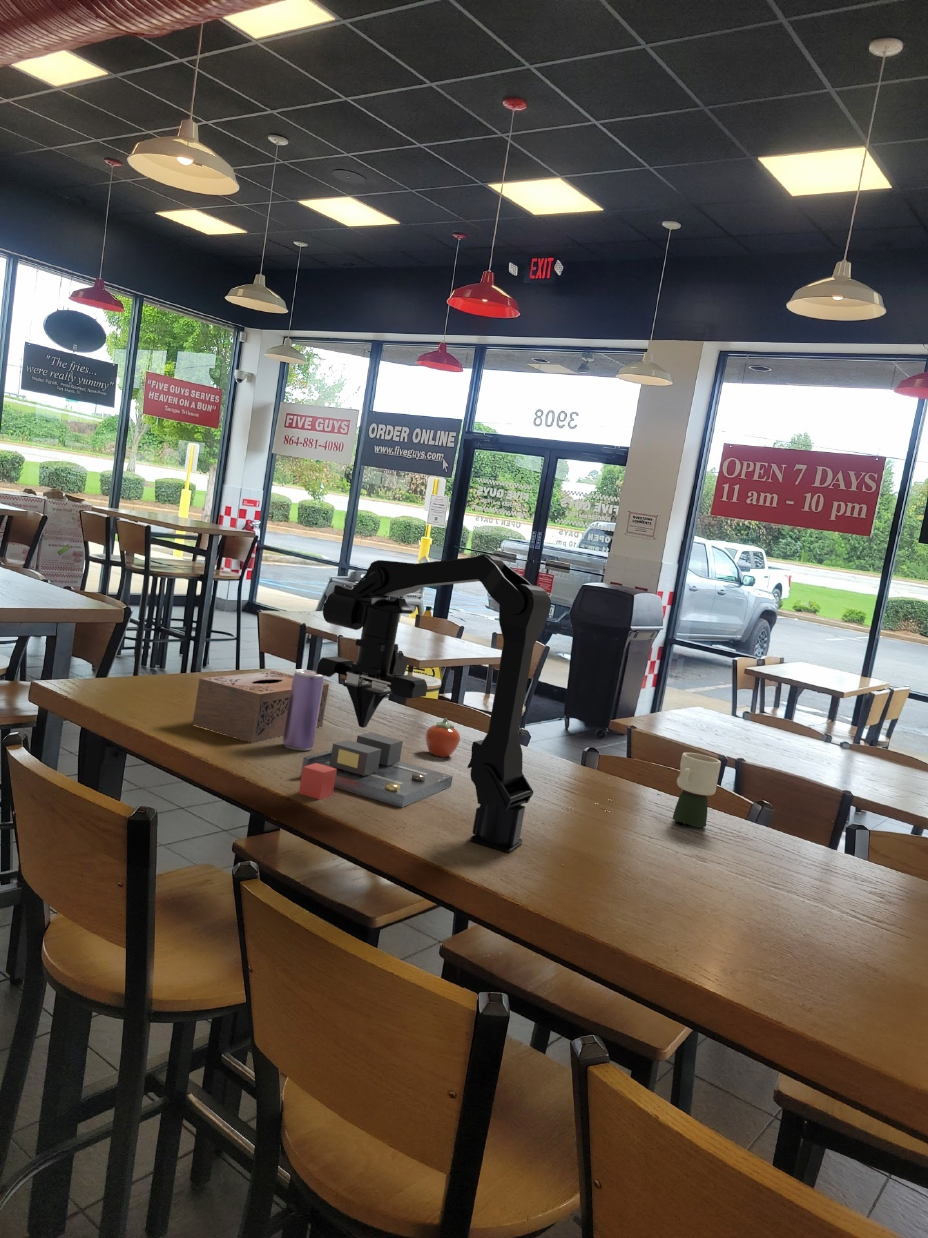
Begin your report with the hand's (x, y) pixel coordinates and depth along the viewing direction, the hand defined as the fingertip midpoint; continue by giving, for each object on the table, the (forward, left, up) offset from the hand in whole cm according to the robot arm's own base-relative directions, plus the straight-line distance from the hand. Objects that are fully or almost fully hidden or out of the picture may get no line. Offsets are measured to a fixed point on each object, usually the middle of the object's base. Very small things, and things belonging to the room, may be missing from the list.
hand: (362, 727), depth 149 cm
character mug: (-51, -39, -12) cm, 65 cm away
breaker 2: (+4, -16, -9) cm, 19 cm away
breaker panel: (0, -10, -11) cm, 15 cm away
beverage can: (+22, -17, -12) cm, 30 cm away
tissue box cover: (+36, -24, -12) cm, 45 cm away
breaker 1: (+4, -6, -9) cm, 12 cm away
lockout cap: (+3, +6, -12) cm, 13 cm away
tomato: (+2, -41, -12) cm, 43 cm away
